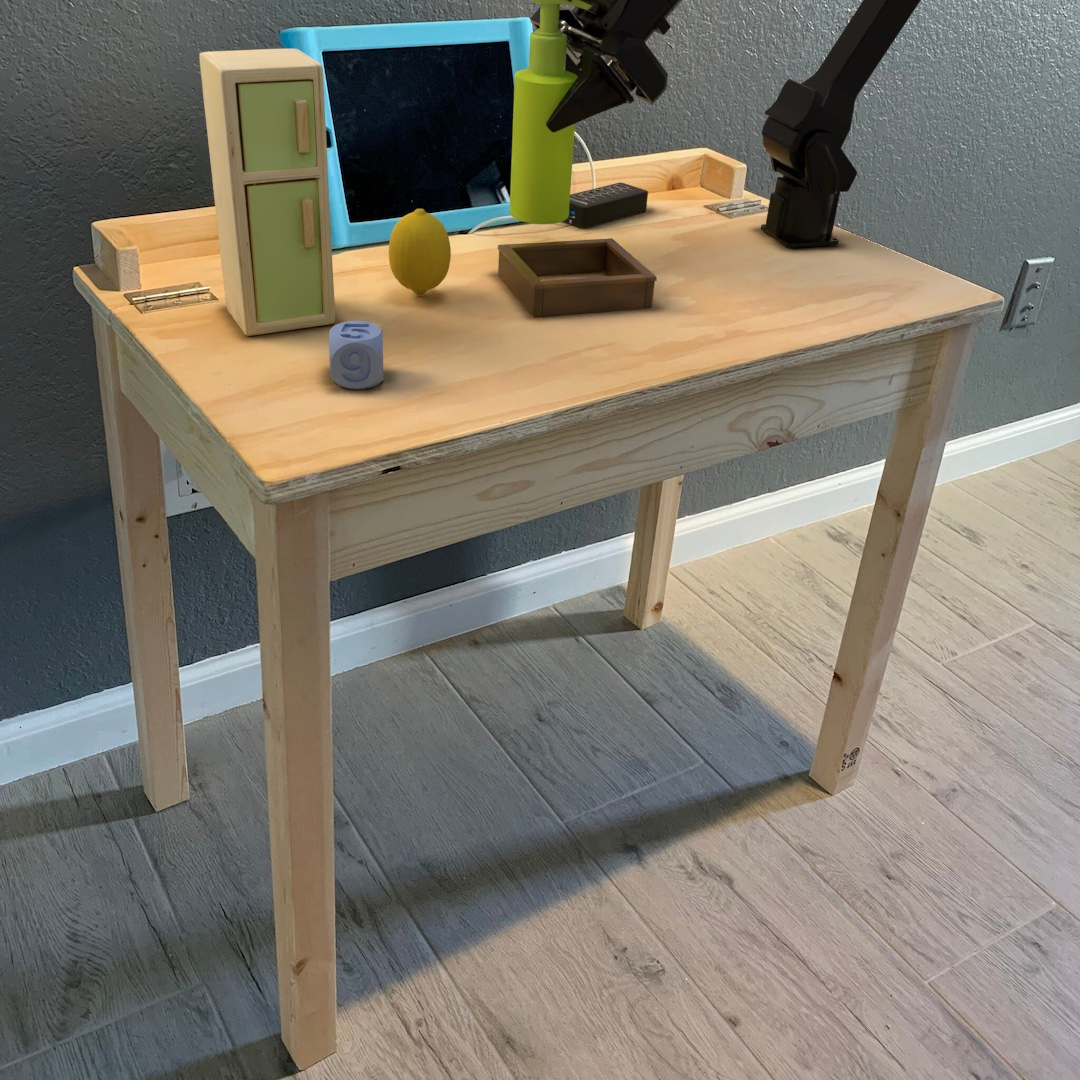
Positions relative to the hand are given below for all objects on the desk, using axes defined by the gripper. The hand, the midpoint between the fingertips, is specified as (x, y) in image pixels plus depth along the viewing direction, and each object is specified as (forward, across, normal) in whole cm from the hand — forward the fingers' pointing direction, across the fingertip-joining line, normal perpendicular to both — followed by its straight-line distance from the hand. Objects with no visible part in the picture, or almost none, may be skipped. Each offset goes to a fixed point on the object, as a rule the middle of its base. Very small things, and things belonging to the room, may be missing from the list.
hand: (535, 120), depth 107 cm
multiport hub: (0, -11, +19) cm, 22 cm away
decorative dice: (+27, +22, -8) cm, 35 cm away
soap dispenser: (+6, 0, +8) cm, 9 cm away
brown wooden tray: (+9, +10, +10) cm, 16 cm away
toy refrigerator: (+29, +9, -10) cm, 31 cm away
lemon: (+19, +7, -1) cm, 21 cm away
